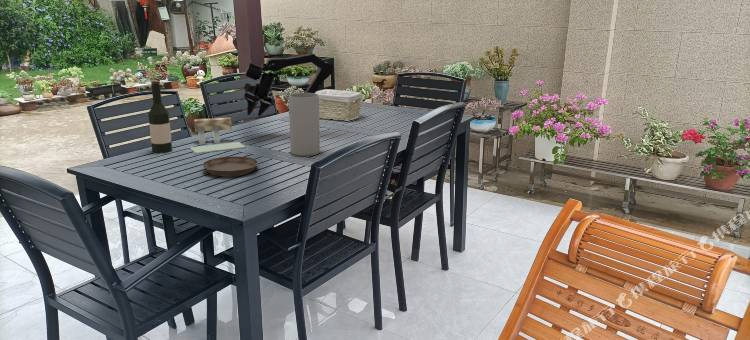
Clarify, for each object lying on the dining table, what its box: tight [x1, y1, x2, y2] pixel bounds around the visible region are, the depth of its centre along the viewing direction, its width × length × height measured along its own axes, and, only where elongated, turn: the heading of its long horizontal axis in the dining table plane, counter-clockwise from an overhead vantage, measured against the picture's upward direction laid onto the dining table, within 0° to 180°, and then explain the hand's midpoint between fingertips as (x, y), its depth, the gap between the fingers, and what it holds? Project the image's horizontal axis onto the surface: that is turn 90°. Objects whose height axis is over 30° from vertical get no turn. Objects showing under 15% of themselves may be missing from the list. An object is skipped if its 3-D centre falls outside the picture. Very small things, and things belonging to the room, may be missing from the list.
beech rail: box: [193, 117, 233, 133], centre depth 256 cm, size 16×4×5 cm, turn 110°
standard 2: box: [212, 125, 221, 144], centre depth 257 cm, size 2×8×8 cm, turn 20°
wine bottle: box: [147, 80, 173, 154], centre depth 236 cm, size 8×8×30 cm
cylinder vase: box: [288, 92, 321, 157], centre depth 237 cm, size 12×12×25 cm
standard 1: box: [197, 126, 206, 146], centre depth 255 cm, size 2×8×8 cm, turn 20°
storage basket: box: [315, 88, 363, 121], centre depth 310 cm, size 24×16×15 cm
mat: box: [189, 141, 247, 155], centre depth 246 cm, size 22×10×1 cm, turn 120°
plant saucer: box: [202, 155, 259, 177], centre depth 215 cm, size 21×21×3 cm
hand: (253, 115), depth 262 cm, fingers open, 9 cm apart
